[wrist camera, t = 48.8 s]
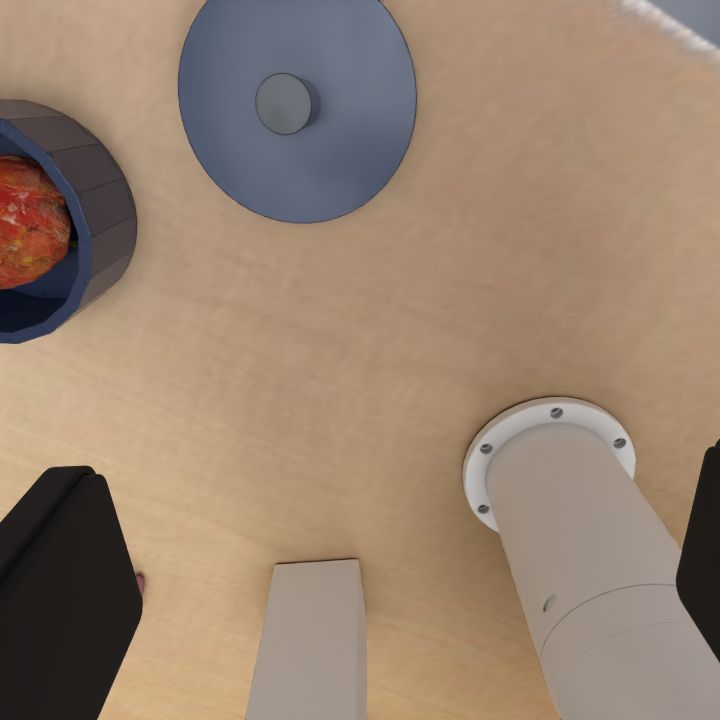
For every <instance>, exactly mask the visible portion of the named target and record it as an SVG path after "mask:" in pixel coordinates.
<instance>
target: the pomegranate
mask: <svg viewBox="0 0 720 720" xmlns="http://www.w3.org/2000/svg"><path fill="white" fill-rule="evenodd" d="M70 234H71V224H70V217H69V215H68V205H67V202H66V200H65V197H64V196H63V195H62V193H61V192H60V191H59V189H58V188H57V187H56V185H55V184H54V182H53V181H52V180H51V178H50V177H49V176H48V174H47V173H46V172H45V170H44V169H43V168H42V166H40V165H39V164H37V163H36V162H34V161H33V160H31V159H28V158H24V157H20V156H17V155H13V154H0V289H9V288H13V287H17V286H19V285H22V284H26V283H29V282H33V281H36V280H38V279H39V278H41V277H43V276H44V275H45V273H47V272H48V271H50V270H51V269H52V268H53V267H54V266H55V265H56V264H57V263H58V262H59V261H60V260H62V259H64V258H65V256H66V254H67V251H68V247H69V246H72V247H75V248H78V241H77V240H69V238H70Z"/></svg>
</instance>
